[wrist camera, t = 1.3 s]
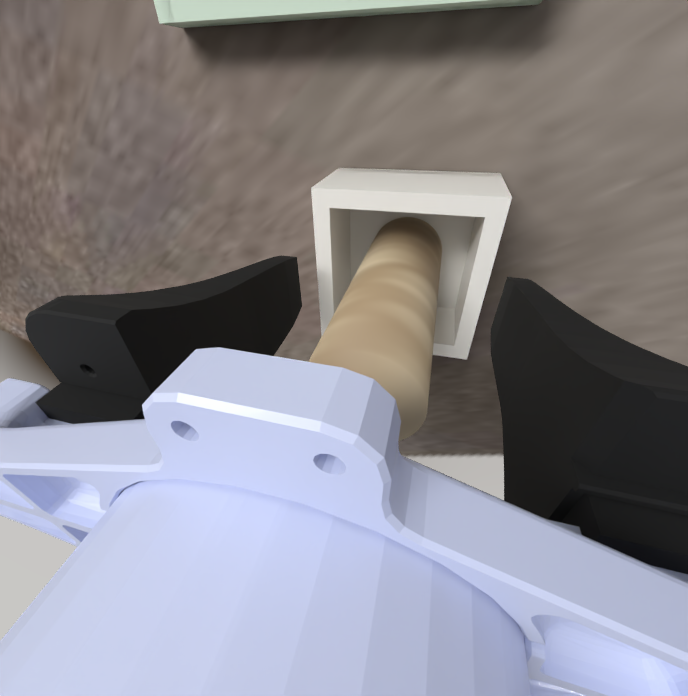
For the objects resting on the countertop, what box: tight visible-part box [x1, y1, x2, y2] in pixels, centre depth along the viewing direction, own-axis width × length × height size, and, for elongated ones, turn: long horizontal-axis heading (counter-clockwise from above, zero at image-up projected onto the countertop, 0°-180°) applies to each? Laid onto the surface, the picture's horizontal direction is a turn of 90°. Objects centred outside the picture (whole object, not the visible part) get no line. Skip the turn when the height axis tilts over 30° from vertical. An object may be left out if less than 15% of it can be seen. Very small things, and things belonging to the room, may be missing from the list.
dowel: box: [309, 217, 442, 441], centre depth 11 cm, size 3×3×9 cm
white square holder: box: [311, 168, 512, 360], centre depth 14 cm, size 6×6×4 cm
